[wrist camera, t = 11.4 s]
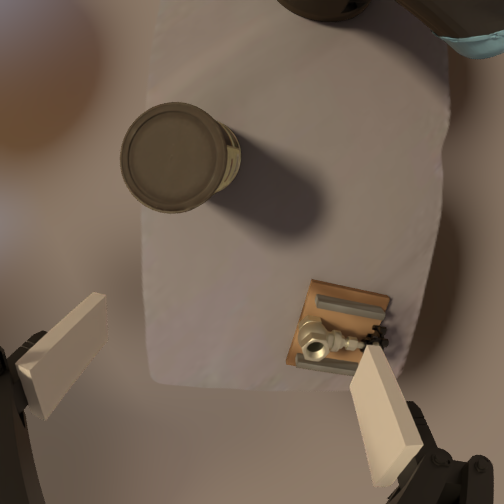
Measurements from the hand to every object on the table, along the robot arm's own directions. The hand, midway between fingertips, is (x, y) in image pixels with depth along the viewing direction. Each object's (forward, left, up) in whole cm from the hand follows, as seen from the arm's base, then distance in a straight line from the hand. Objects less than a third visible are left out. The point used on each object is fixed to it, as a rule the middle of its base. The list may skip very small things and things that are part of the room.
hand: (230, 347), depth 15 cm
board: (+13, +15, -29) cm, 35 cm away
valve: (+12, +15, -28) cm, 34 cm away
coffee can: (-7, -9, -30) cm, 32 cm away
